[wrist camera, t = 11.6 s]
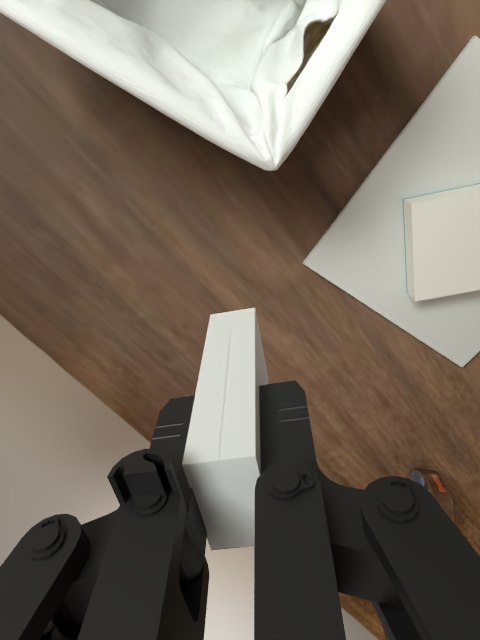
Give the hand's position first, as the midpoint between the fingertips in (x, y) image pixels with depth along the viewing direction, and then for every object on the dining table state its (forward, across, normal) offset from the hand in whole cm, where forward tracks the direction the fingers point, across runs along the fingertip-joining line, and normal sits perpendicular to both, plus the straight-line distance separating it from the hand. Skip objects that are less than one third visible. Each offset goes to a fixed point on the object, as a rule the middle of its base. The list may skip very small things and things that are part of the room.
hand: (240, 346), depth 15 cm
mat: (+32, +21, -9) cm, 39 cm away
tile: (+30, +14, -10) cm, 34 cm away
